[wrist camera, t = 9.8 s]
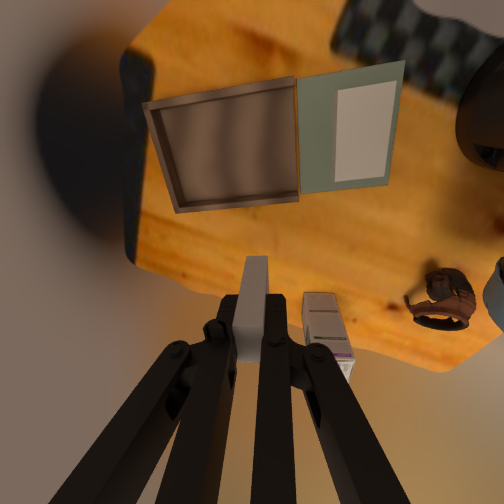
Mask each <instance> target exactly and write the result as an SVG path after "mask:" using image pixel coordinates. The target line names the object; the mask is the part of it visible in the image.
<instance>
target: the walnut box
mask: <svg viewBox="0 0 504 504" xmlns="http://www.w3.org/2000/svg"><path fill="white" fill-rule="evenodd" d="M293 86H294V76H290V77H284V78H279V79H273V80H268V81H262V82H257V83H251V84H245V85H240V86H234V87H229V88H223V89H218V90H212V91H207V92H201V93H195V94H190V95H184V96H179V97H173V98H168V99H162V100H157V101H151V102H145V103H141V104H142V107H143V111H144V114H145V117H146V120H147V124H148V127H149V130H150V133H151V137H152V140H153V143H154V146H155V149H156V153H157V156H158V159H159V162H160V166H161V169H162V172H163V175H164V179H165V182H166V185H167V188H168V191H169V195H170V198H171V201H172V204H173V208H174V211H175V214H178V213H188V212H199V211H209V210H219V209H229V208H240V207H250V206H260V205H271V204H281V203H291V202H299V195H298V191H297V168H296V144H295V121H294V97H293Z"/></svg>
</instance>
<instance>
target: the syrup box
mask: <svg viewBox="0 0 504 504" xmlns="http://www.w3.org/2000/svg"><path fill="white" fill-rule="evenodd" d="M302 321H303V329H304V337H305V345H306V346H307V345H308V344H311V343H321V344H324V345H326V346H327V347H329V349H330V350H331V351H332V353H333V355H334V357H335V359H336V361H337V363H338V364H339V366H340V368H341V370H342V372H343V374H344V376H345V378H346V380H347V382H348V384H349V380H350V377H351V374H352V371H353V368H354V364H355V357H354V354H353V351H352V348H351V345H350V341H349V338H348V335H347V332H346V329H345V326H344V323H343V320H342V317H341V314H340V311H339V307H338V304H337V301H336V298H335V295H334V294H333V293H315V292H304V295H303V303H302Z"/></svg>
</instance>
